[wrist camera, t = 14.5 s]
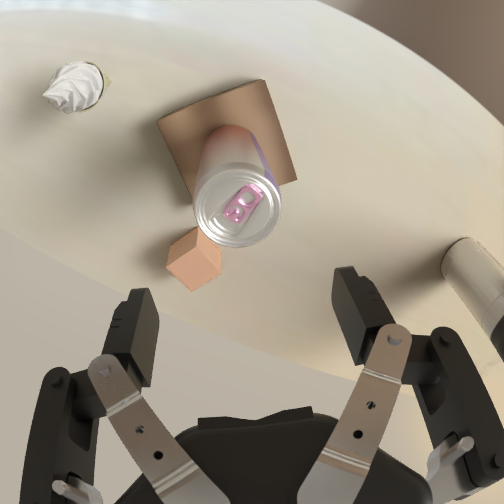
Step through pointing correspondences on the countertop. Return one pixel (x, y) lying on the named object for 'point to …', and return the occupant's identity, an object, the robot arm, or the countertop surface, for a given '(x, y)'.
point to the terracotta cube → (194, 259)
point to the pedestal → (221, 114)
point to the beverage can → (235, 189)
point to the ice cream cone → (77, 87)
